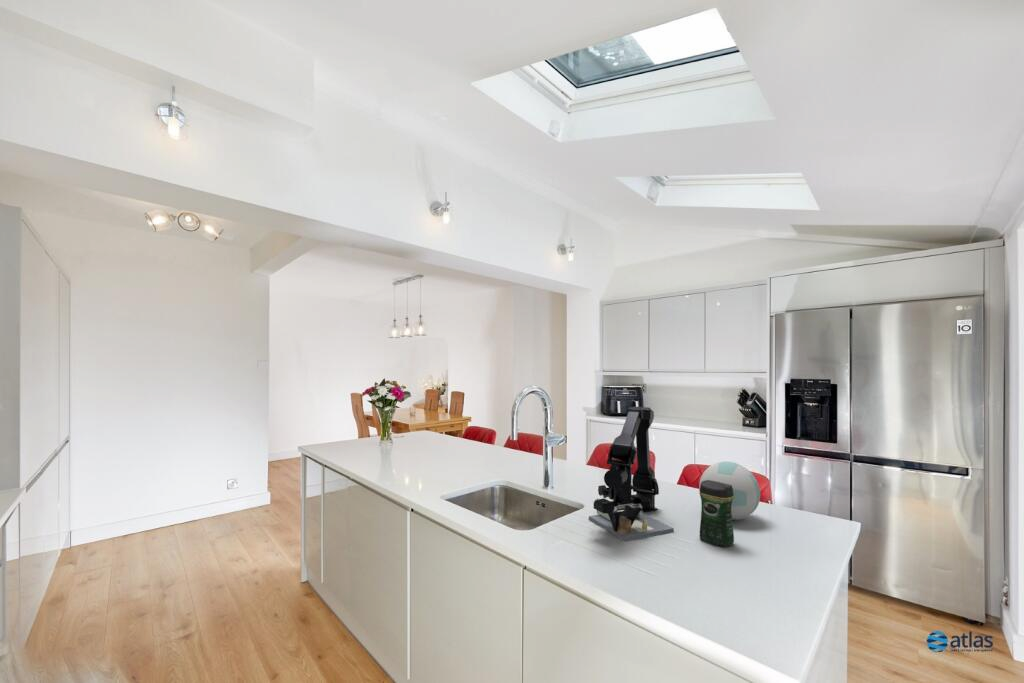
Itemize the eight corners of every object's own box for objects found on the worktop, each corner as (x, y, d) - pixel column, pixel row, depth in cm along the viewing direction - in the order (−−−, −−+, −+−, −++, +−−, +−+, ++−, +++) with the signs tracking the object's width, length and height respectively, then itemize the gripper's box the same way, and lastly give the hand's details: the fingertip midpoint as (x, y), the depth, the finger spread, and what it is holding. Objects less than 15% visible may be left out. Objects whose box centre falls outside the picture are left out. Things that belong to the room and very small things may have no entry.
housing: (617, 505, 172) (617, 491, 172) (641, 517, 159) (642, 503, 159) (590, 509, 167) (590, 495, 167) (613, 522, 154) (613, 507, 154)
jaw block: (623, 528, 149) (623, 516, 149) (630, 532, 146) (631, 520, 146) (613, 530, 148) (613, 517, 148) (620, 534, 144) (620, 521, 144)
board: (634, 512, 169) (634, 501, 169) (673, 531, 150) (673, 519, 150) (588, 519, 160) (588, 507, 160) (624, 540, 142) (624, 527, 142)
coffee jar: (737, 543, 142) (737, 483, 143) (725, 549, 137) (726, 487, 137) (707, 533, 149) (708, 476, 150) (695, 539, 144) (695, 480, 145)
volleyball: (754, 532, 151) (754, 472, 152) (692, 519, 163) (692, 462, 164) (764, 516, 167) (764, 461, 167) (707, 505, 179) (707, 454, 180)
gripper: (629, 472, 158) (629, 518, 158) (584, 477, 151) (583, 525, 150) (651, 481, 148) (651, 529, 148) (604, 486, 141) (603, 537, 140)
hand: (621, 530), depth 147 cm, fingers open, 5 cm apart
